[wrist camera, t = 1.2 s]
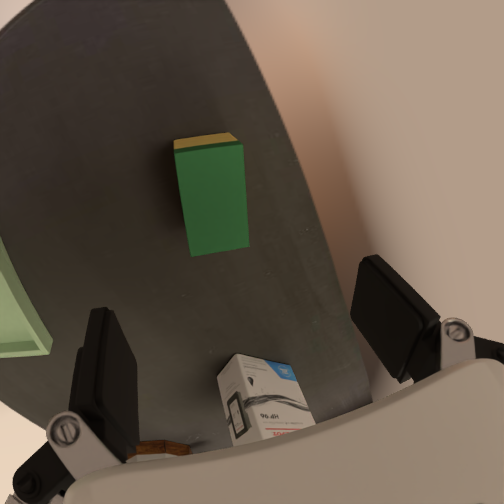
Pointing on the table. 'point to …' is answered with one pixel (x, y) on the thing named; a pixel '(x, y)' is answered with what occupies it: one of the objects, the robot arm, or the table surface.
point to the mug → (158, 451)
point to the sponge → (212, 192)
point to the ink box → (261, 399)
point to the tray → (18, 316)
